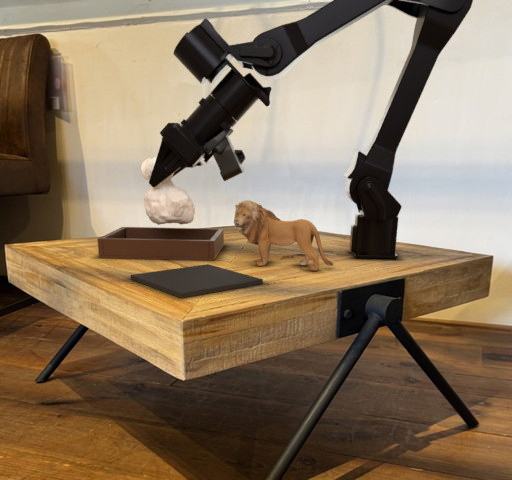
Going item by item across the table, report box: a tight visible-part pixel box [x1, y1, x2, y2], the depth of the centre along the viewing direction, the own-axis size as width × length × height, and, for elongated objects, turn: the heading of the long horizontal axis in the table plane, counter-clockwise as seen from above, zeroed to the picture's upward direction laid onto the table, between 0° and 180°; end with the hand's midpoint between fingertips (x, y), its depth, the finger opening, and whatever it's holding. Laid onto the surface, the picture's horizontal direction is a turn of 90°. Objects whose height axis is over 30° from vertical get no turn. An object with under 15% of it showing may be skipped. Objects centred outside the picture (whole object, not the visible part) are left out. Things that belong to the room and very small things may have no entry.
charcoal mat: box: [130, 263, 264, 299], centre depth 72 cm, size 12×12×1 cm
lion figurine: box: [233, 200, 334, 271], centre depth 81 cm, size 15×5×9 cm, turn 74°
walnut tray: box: [97, 226, 225, 261], centre depth 92 cm, size 18×14×3 cm
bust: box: [140, 156, 196, 225], centre depth 90 cm, size 12×8×11 cm
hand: (154, 184), depth 89 cm, fingers closed on bust, 4 cm apart
